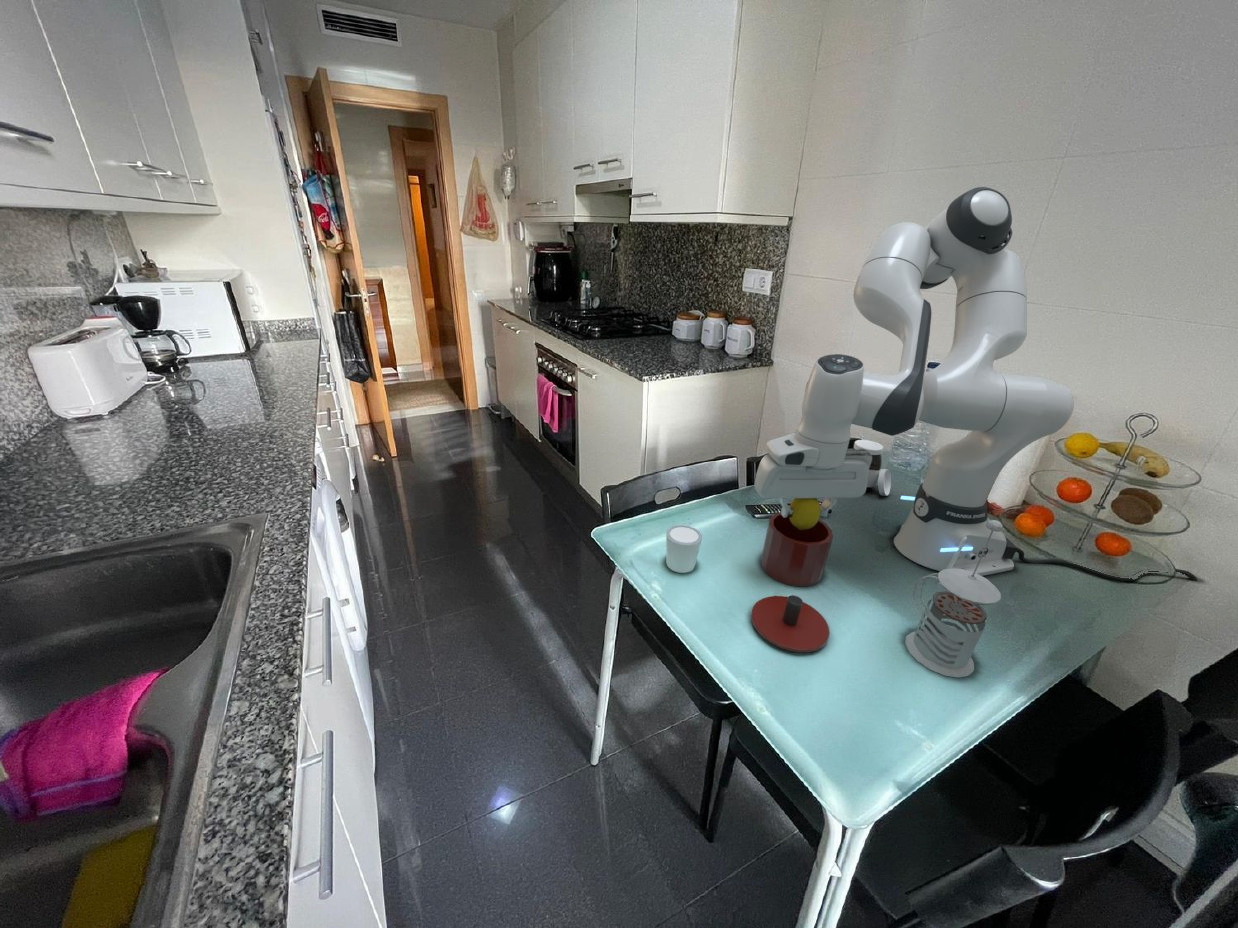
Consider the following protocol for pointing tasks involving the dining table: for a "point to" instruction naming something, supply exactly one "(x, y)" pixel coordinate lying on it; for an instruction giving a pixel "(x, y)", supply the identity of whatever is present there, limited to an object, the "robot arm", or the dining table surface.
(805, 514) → the lemon
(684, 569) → the white cup
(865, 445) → the spread jar
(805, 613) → the tin lid
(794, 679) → the dining table surface
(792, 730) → the dining table surface
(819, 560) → the tin
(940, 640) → the french press
